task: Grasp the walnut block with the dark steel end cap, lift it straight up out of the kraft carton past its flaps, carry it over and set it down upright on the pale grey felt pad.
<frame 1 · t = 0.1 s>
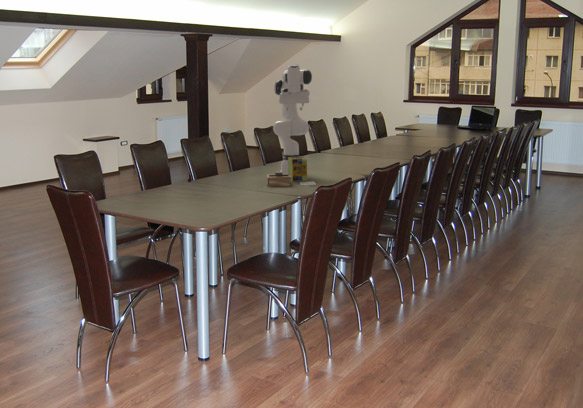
hand: (294, 110, 437), 48 cm above the table, fingers open, 8 cm apart
protein box: (297, 180, 448), on the table
carton: (279, 185, 428), on the table
capped block: (278, 184, 428), point 1 cm above the table, touching carton
felt pad: (307, 184, 430), on the table
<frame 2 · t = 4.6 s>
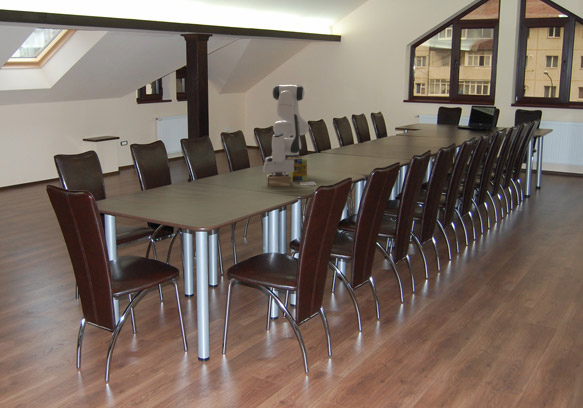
hand: (278, 179, 428), 4 cm above the table, fingers closed on capped block, 4 cm apart
capped block: (278, 184, 428), point 1 cm above the table, touching carton, gripper
everything else where it was.
when the fingers open (6 cm above the table, at t = 12.8 s): capped block drops 1 cm, resting on felt pad.
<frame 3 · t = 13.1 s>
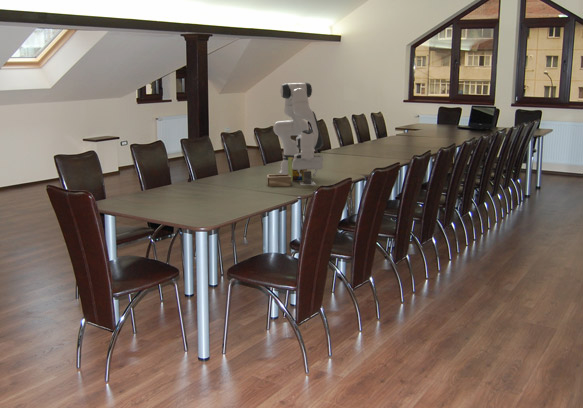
hand: (307, 176, 429), 6 cm above the table, fingers open, 8 cm apart
capped block: (307, 183, 430), point 1 cm above the table, touching felt pad
everything else where it was.
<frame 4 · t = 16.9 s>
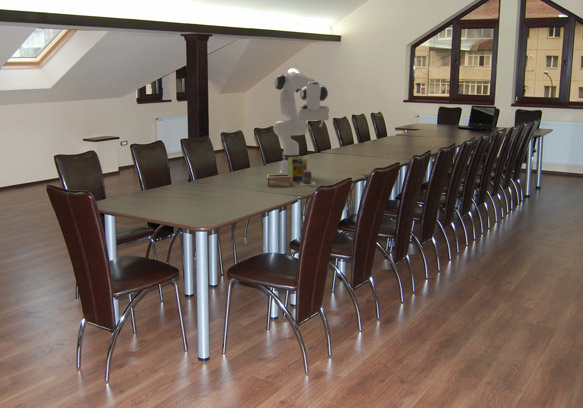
hand: (313, 127, 431), 37 cm above the table, fingers open, 8 cm apart
nothing on the table moved.
at the end: capped block inside the target area on the felt pad (0.1 cm from its centre), point 0.8 cm above the felt pad's base; capped block tilted 0°; capped block touching felt pad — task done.
